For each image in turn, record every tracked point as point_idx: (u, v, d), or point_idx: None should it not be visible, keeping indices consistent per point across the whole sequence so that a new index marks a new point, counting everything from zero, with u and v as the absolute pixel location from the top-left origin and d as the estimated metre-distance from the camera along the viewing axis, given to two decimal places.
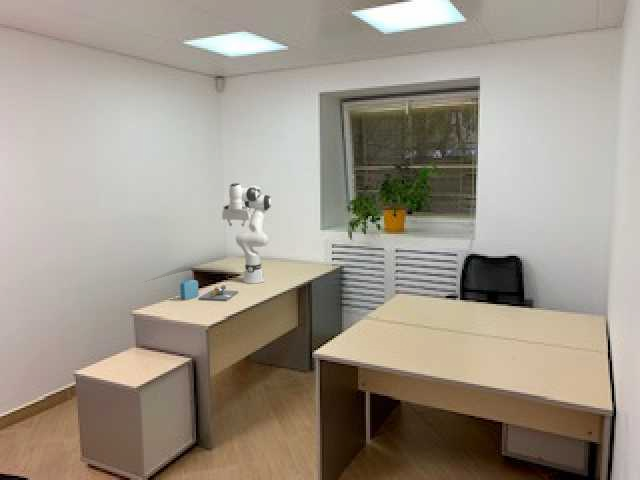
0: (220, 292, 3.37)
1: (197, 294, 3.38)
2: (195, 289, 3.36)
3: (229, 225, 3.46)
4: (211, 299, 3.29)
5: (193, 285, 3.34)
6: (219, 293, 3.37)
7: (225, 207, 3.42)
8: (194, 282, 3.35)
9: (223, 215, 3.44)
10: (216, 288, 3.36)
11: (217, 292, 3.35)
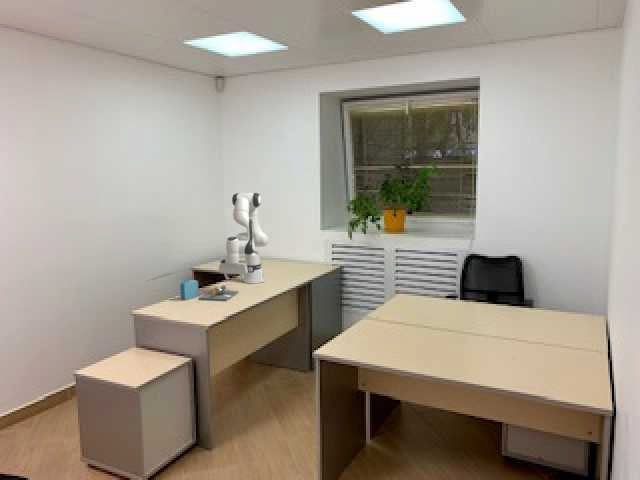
0: (220, 292, 3.37)
1: (197, 294, 3.38)
2: (195, 289, 3.36)
3: (226, 279, 3.41)
4: (211, 299, 3.29)
5: (193, 285, 3.34)
6: (219, 293, 3.37)
7: (222, 261, 3.37)
8: (194, 282, 3.35)
9: (220, 269, 3.40)
10: (216, 288, 3.36)
11: (217, 292, 3.35)
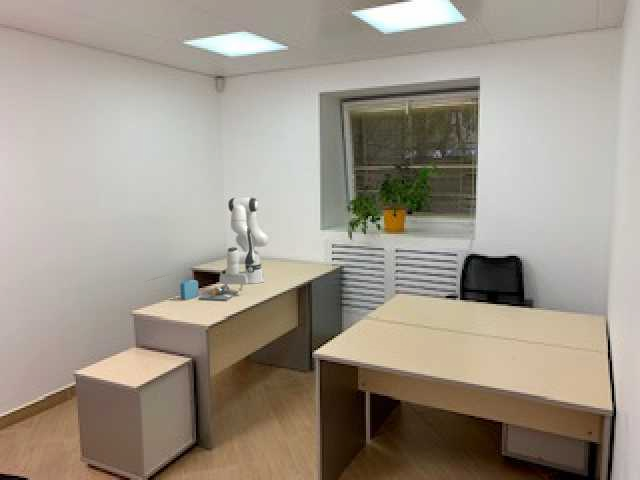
0: (220, 292, 3.37)
1: (197, 294, 3.38)
2: (195, 289, 3.36)
3: (226, 289, 3.42)
4: (211, 299, 3.29)
5: (193, 285, 3.34)
6: (219, 293, 3.37)
7: (222, 272, 3.38)
8: (194, 282, 3.35)
9: (220, 279, 3.41)
10: (216, 288, 3.36)
11: (217, 292, 3.35)
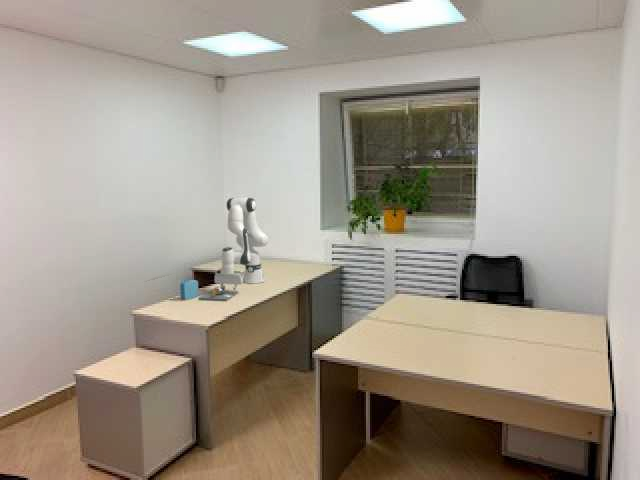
0: (220, 292, 3.37)
1: (197, 294, 3.38)
2: (195, 289, 3.36)
3: None
4: (211, 299, 3.29)
5: (193, 285, 3.34)
6: (219, 293, 3.37)
7: (217, 272, 3.39)
8: (194, 282, 3.35)
9: (215, 279, 3.42)
10: (216, 288, 3.36)
11: (217, 292, 3.35)
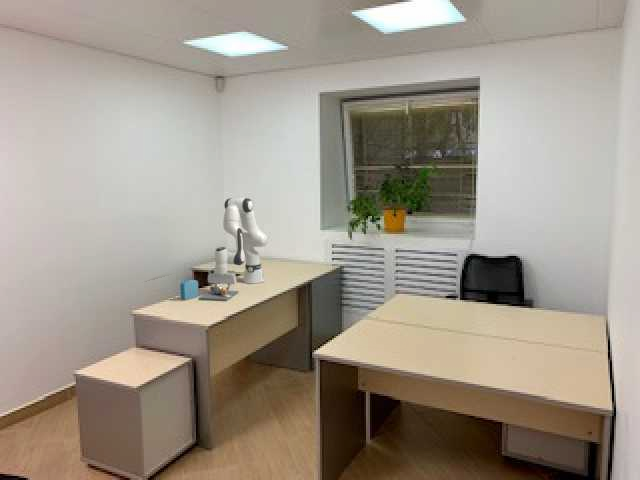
0: None
1: (197, 294, 3.38)
2: (195, 289, 3.36)
3: None
4: (211, 299, 3.29)
5: (193, 285, 3.34)
6: None
7: (211, 271, 3.40)
8: (194, 282, 3.35)
9: (209, 279, 3.42)
10: (220, 288, 3.36)
11: None
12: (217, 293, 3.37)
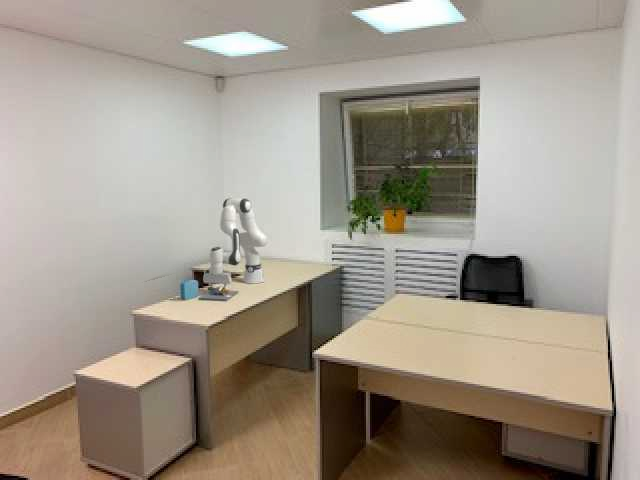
0: None
1: (197, 294, 3.38)
2: (195, 289, 3.36)
3: None
4: (211, 299, 3.29)
5: (193, 285, 3.34)
6: None
7: (206, 271, 3.41)
8: (194, 282, 3.35)
9: (204, 279, 3.44)
10: (221, 288, 3.37)
11: None
12: (218, 293, 3.37)
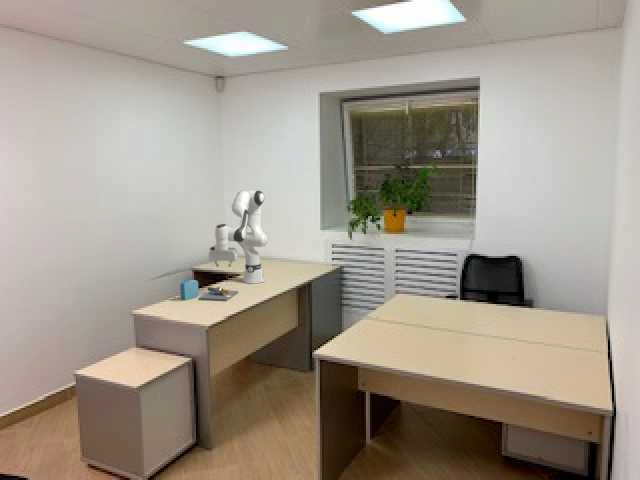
0: None
1: (197, 294, 3.38)
2: (195, 289, 3.36)
3: (216, 266, 3.43)
4: (211, 299, 3.29)
5: (193, 285, 3.34)
6: None
7: (211, 248, 3.39)
8: (194, 282, 3.35)
9: (209, 256, 3.42)
10: (221, 288, 3.37)
11: None
12: (218, 293, 3.37)
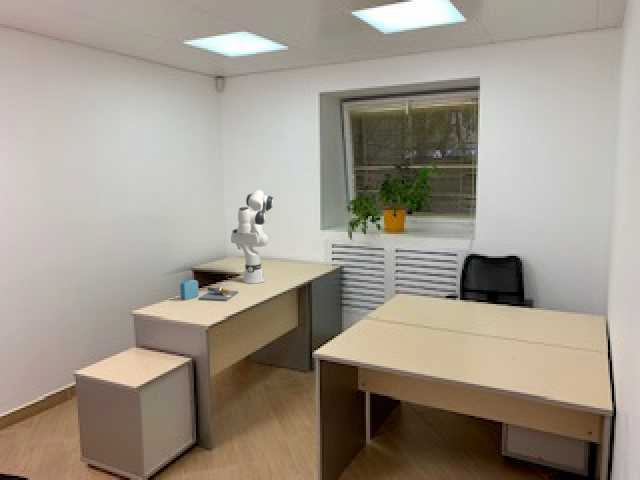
0: None
1: (197, 294, 3.38)
2: (195, 289, 3.36)
3: (238, 248, 3.47)
4: (211, 299, 3.29)
5: (193, 285, 3.34)
6: None
7: (234, 231, 3.43)
8: (194, 282, 3.35)
9: (232, 239, 3.45)
10: (221, 288, 3.37)
11: None
12: (218, 293, 3.37)
